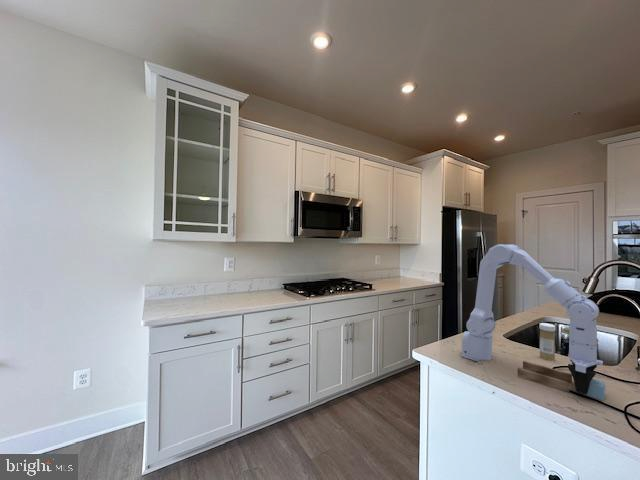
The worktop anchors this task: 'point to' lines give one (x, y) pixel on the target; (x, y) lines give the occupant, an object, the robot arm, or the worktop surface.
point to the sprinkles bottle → (547, 341)
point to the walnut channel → (546, 376)
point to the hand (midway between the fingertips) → (582, 389)
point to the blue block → (596, 389)
